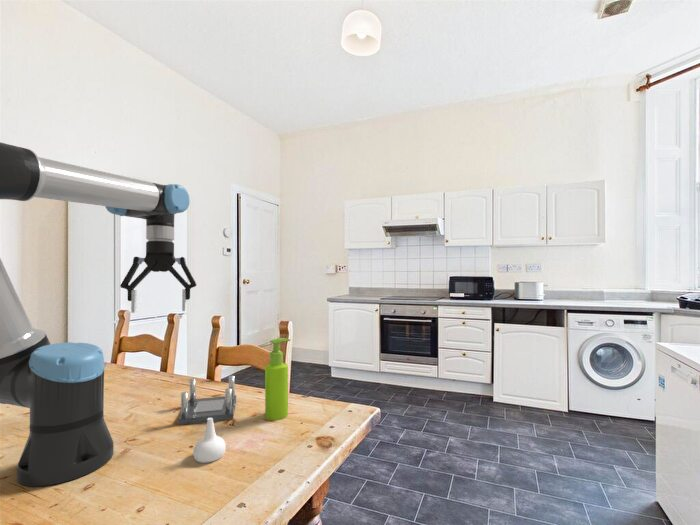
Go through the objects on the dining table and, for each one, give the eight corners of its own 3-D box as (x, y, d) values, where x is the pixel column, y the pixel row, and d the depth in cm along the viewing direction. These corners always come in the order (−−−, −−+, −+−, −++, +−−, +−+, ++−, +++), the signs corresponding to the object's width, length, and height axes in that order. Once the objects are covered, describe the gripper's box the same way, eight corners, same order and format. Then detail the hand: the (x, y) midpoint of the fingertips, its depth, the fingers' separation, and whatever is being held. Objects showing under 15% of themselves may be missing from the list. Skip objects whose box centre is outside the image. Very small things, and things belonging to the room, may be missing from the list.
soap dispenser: (295, 413, 96) (295, 338, 97) (274, 421, 91) (273, 342, 92) (282, 408, 100) (282, 336, 101) (261, 415, 95) (260, 339, 96)
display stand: (233, 419, 93) (233, 390, 93) (178, 425, 90) (178, 394, 90) (236, 400, 107) (236, 374, 107) (188, 404, 103) (188, 378, 104)
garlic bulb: (214, 468, 71) (218, 428, 71) (185, 462, 72) (189, 423, 72) (230, 452, 77) (233, 415, 77) (204, 447, 78) (207, 410, 78)
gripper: (205, 243, 117) (205, 308, 116) (117, 241, 109) (115, 311, 108) (203, 241, 109) (203, 311, 109) (108, 238, 102) (107, 314, 101)
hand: (159, 311), depth 109 cm, fingers open, 13 cm apart
